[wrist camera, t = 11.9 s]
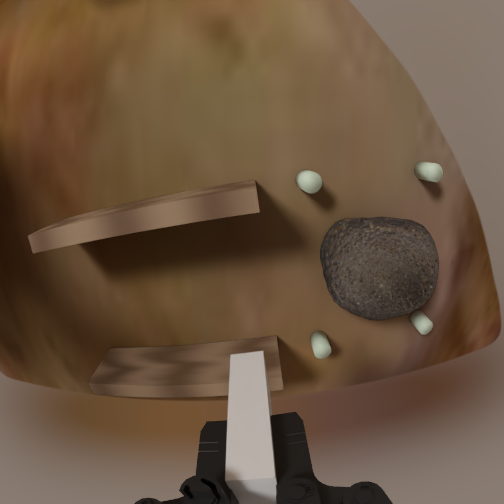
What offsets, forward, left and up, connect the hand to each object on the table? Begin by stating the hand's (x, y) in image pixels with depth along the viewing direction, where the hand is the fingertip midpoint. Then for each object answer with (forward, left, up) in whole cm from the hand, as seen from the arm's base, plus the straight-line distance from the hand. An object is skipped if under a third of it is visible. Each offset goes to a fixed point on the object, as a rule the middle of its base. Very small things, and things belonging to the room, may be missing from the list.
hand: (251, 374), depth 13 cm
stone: (+11, 0, -13) cm, 17 cm away
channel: (-8, 0, -13) cm, 15 cm away
